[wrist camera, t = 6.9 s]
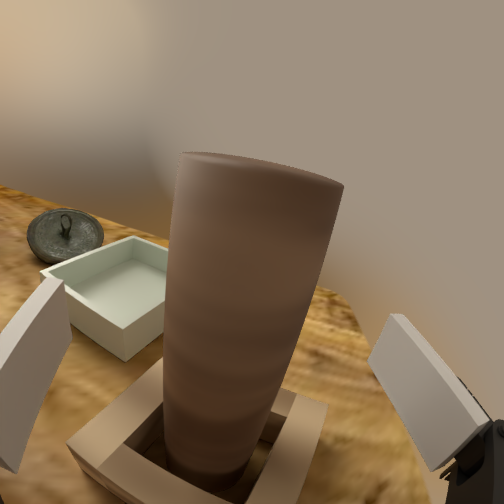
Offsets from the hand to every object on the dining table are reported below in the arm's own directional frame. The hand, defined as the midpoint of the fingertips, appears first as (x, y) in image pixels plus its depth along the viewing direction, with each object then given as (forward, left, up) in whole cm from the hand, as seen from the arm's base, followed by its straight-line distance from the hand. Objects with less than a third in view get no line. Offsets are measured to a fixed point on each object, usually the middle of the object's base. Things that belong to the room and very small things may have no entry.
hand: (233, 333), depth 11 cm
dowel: (-1, 0, -9) cm, 9 cm away
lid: (+11, +28, -9) cm, 31 cm away
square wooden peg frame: (-1, 0, -9) cm, 9 cm away
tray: (+9, +14, -9) cm, 19 cm away
